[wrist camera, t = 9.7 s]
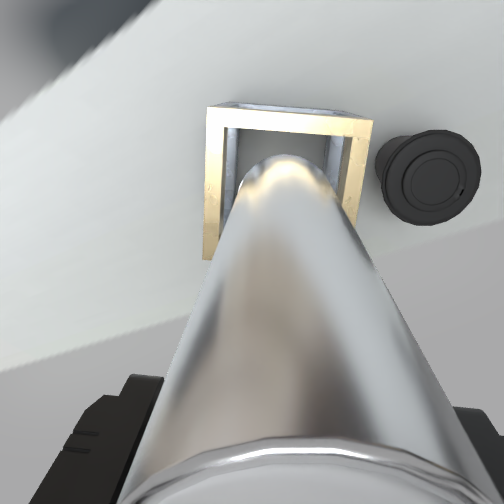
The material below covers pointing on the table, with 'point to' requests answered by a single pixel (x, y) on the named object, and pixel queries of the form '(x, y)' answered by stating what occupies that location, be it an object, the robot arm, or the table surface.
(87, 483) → the robot arm
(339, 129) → the collar stand
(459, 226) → the table surface
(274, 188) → the silver metal cylinder
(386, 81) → the table surface
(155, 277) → the table surface
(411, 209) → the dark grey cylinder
